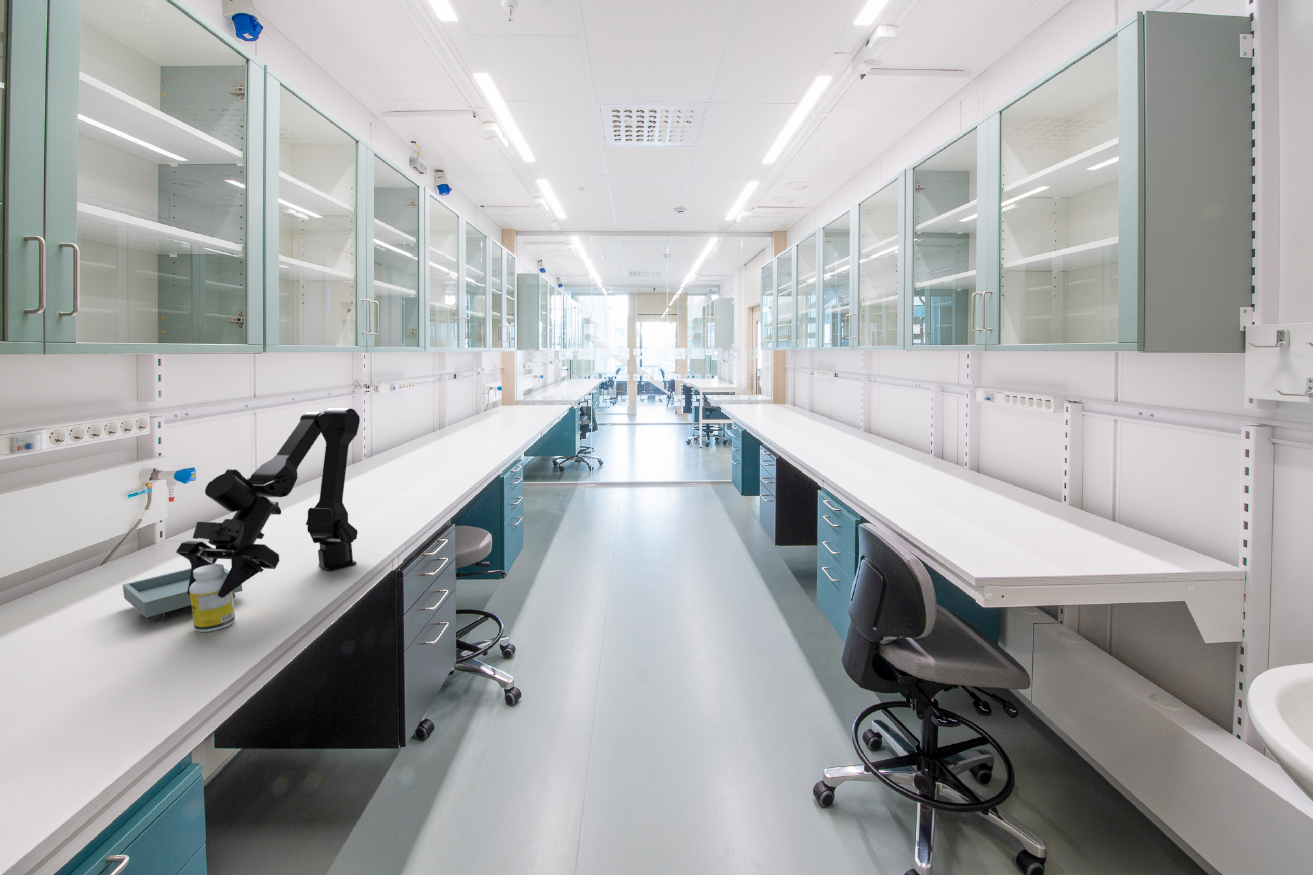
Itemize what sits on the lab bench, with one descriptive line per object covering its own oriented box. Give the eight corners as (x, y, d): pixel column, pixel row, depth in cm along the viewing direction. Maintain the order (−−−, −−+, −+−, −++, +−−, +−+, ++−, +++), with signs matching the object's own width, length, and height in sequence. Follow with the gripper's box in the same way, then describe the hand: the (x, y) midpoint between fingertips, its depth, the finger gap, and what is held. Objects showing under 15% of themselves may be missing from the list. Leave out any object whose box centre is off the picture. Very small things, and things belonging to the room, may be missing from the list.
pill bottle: (209, 619, 117) (202, 562, 115) (243, 617, 117) (236, 561, 116) (185, 634, 110) (178, 574, 109) (222, 632, 111) (215, 573, 109)
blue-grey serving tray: (216, 583, 136) (214, 562, 135) (243, 599, 126) (240, 577, 126) (125, 607, 123) (122, 584, 122) (147, 627, 114) (144, 602, 113)
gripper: (179, 501, 116) (128, 575, 107) (261, 504, 113) (216, 580, 104) (219, 528, 125) (175, 599, 116) (296, 532, 122) (258, 604, 113)
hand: (204, 595), depth 112 cm, fingers closed on pill bottle, 6 cm apart
